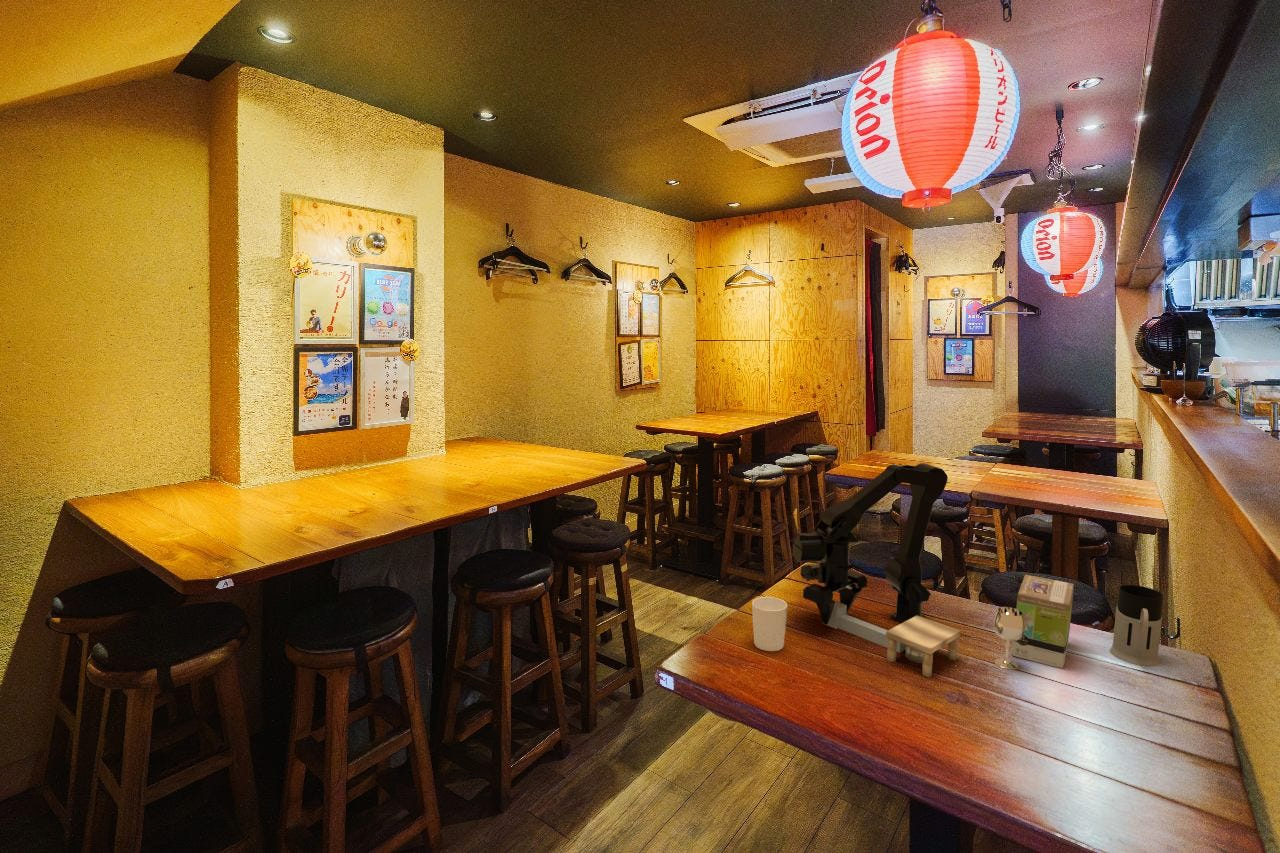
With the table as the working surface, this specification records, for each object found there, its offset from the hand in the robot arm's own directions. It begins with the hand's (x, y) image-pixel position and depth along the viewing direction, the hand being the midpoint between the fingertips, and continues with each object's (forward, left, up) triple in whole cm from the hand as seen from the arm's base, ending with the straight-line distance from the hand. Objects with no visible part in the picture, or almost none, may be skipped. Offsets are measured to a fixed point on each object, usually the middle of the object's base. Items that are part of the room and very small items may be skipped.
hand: (834, 619), depth 155 cm
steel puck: (0, +22, -1) cm, 22 cm away
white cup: (+21, -3, -1) cm, 21 cm away
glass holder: (-35, +52, -1) cm, 63 cm away
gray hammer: (0, +8, -1) cm, 8 cm away
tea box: (-25, +37, -1) cm, 45 cm away
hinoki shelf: (0, +23, -1) cm, 23 cm away
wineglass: (-12, +35, -1) cm, 37 cm away
